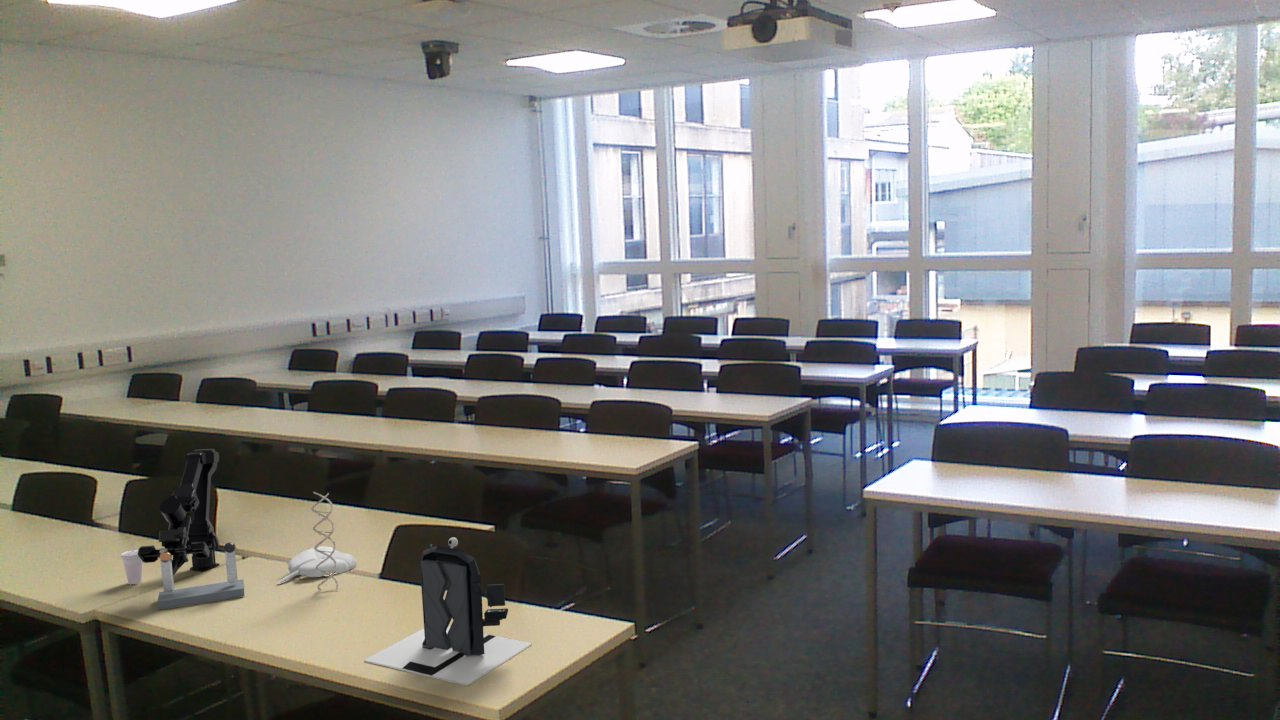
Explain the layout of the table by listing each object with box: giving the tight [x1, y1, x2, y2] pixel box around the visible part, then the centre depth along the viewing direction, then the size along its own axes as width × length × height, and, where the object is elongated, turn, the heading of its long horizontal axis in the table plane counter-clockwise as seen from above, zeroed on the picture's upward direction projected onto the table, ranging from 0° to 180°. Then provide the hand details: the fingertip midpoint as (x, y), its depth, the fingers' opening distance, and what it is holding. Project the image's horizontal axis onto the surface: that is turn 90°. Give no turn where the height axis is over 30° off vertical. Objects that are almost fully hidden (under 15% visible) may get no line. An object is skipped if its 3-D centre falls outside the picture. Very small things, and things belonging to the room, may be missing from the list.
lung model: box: [277, 545, 358, 583], centre depth 305 cm, size 7×17×25 cm
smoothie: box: [120, 538, 144, 586], centre depth 301 cm, size 6×6×14 cm
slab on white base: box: [364, 537, 532, 687], centre depth 238 cm, size 32×25×28 cm
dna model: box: [311, 491, 339, 591], centre depth 287 cm, size 7×6×30 cm
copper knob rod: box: [158, 551, 175, 593], centre depth 281 cm, size 3×3×12 cm
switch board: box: [156, 578, 245, 611], centre depth 285 cm, size 9×23×2 cm, turn 113°
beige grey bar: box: [223, 542, 239, 584], centre depth 288 cm, size 3×3×12 cm
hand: (169, 578), depth 282 cm, fingers closed, pressing on copper knob rod
